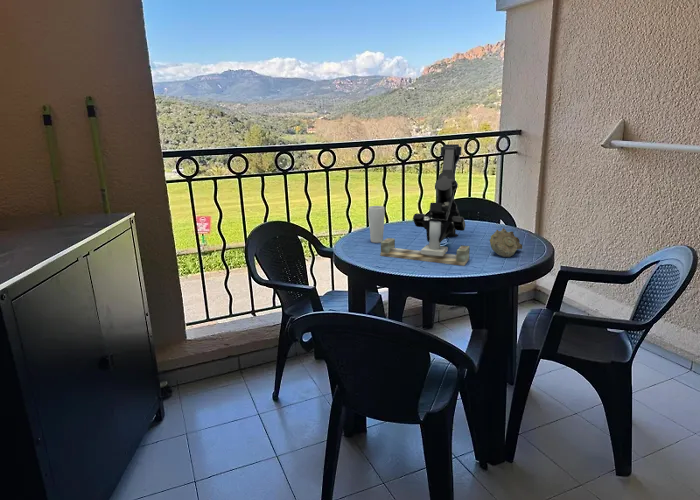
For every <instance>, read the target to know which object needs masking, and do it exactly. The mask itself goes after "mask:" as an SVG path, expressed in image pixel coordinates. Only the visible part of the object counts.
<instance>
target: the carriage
mask: <svg viewBox="0 0 700 500" xmlns="http://www.w3.org/2000/svg"><path fill="white" fill-rule="evenodd" d="M440 235H441V222H440V221H430V233H429V241H428V244H426V245H425V246H424V247H423V248H421V249H420V251H421V254H427V255H436V256H443V255H444V254H447V252H448V250H449V247H448V246H443V245H441V243H439V238H440Z"/></svg>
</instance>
